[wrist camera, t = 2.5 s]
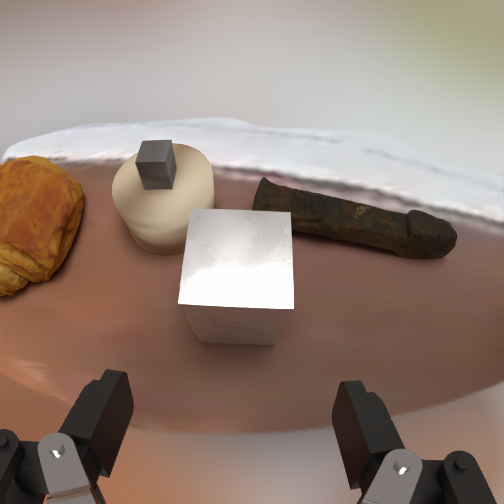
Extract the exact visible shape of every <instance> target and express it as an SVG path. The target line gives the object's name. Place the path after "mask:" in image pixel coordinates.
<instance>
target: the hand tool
mask: <svg viewBox="0 0 504 504" xmlns="http://www.w3.org/2000/svg"><path fill="white" fill-rule="evenodd" d="M253 211H272V212H291V230H295V231H299V232H303V233H308V234H318V235H322V236H326V237H331V238H332V239H334V240H345V241H349V242H352V243H360V244H365V245H370V246H374V247H378V248H383V249H387V250H392V251H393V252H394V254H395V255H396V256H399V257H405V258H435V257H443V256H445V255H447V254H448V253H449V252H450V251H451V250H452V249H453V248H454V247H455V244H456V240H457V234H456V231H455V230H454V229H453V228H452V226H451V224H450V223H449V222H447V221H445V220H443V219H439V218H436V217H434V216H431V215H429V214H427V213H425V212H422V211H419V210H411V211H410V212H409V213H407V214H403V213H398V212H392V211H388V210H383V209H380V208H377V207H373V206H369V205H366V204H362V203H356V202H353V201H349V200H344V199H340V198H336V197H331V196H326V195H323V194H319V193H312V192H309V191H303V190H298V189H292V188H289V187H286V186H279V185H276V184H273V183H271V182H270V181H268V180H267V179H266V178H265V177H263V178H262V179H261V181H260V184H259V187H258V189H257V192H256V194H255V199H254V204H253Z"/></svg>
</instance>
